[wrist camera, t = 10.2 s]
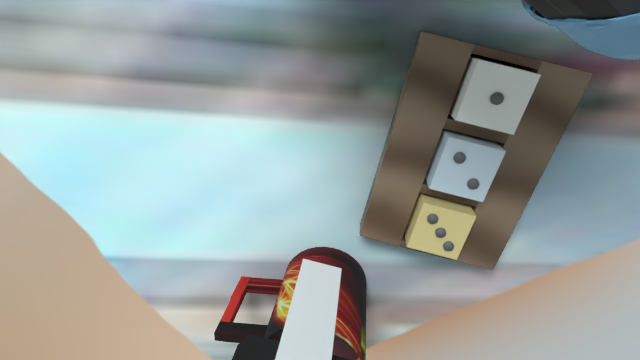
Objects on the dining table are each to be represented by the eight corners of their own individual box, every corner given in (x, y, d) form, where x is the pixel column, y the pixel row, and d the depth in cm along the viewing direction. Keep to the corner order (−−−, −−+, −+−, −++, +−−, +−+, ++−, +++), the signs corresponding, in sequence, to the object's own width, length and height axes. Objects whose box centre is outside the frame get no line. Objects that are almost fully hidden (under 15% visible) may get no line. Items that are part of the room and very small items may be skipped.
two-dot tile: (441, 126, 35) (449, 137, 32) (493, 139, 35) (506, 152, 32) (423, 174, 37) (429, 189, 34) (473, 186, 37) (483, 203, 34)
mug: (241, 271, 45) (200, 351, 34) (346, 235, 42) (337, 312, 31) (278, 329, 48) (251, 420, 37) (378, 301, 45) (381, 392, 34)
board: (420, 31, 33) (423, 31, 30) (577, 69, 32) (593, 73, 30) (360, 223, 41) (359, 235, 38) (485, 256, 40) (492, 270, 38)
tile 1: (418, 187, 38) (423, 203, 34) (467, 199, 38) (477, 217, 34) (403, 228, 40) (406, 248, 36) (449, 240, 40) (457, 261, 36)
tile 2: (467, 55, 33) (479, 59, 29) (524, 69, 32) (542, 75, 29) (447, 111, 35) (455, 120, 31) (500, 124, 34) (514, 135, 31)
